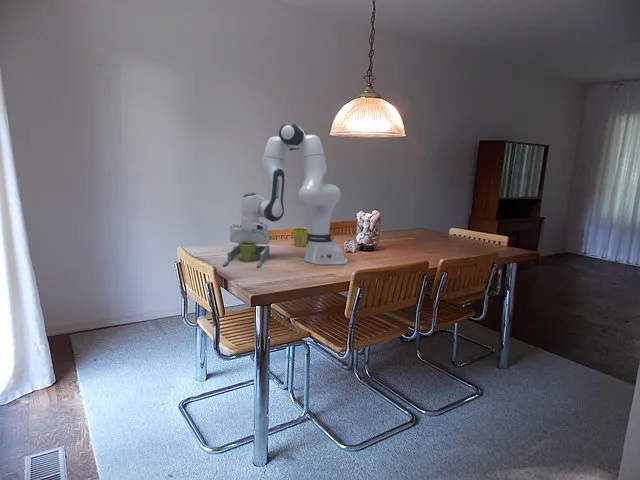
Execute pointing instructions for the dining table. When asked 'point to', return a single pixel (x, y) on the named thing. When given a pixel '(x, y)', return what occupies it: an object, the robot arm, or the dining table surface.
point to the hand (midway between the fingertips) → (249, 251)
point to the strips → (228, 263)
